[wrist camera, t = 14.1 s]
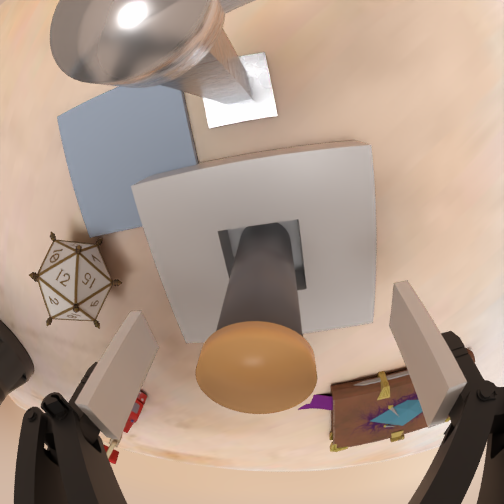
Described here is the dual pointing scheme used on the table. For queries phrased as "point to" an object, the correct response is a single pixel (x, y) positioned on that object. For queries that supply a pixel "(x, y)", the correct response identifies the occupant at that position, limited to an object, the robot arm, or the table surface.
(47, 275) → the game die
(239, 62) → the post
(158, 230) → the socket block
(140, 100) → the pad
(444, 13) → the table surface
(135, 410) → the toy fire truck
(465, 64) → the table surface
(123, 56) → the silver ball-ended lever
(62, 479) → the robot arm
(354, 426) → the book
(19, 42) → the table surface
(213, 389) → the plug
